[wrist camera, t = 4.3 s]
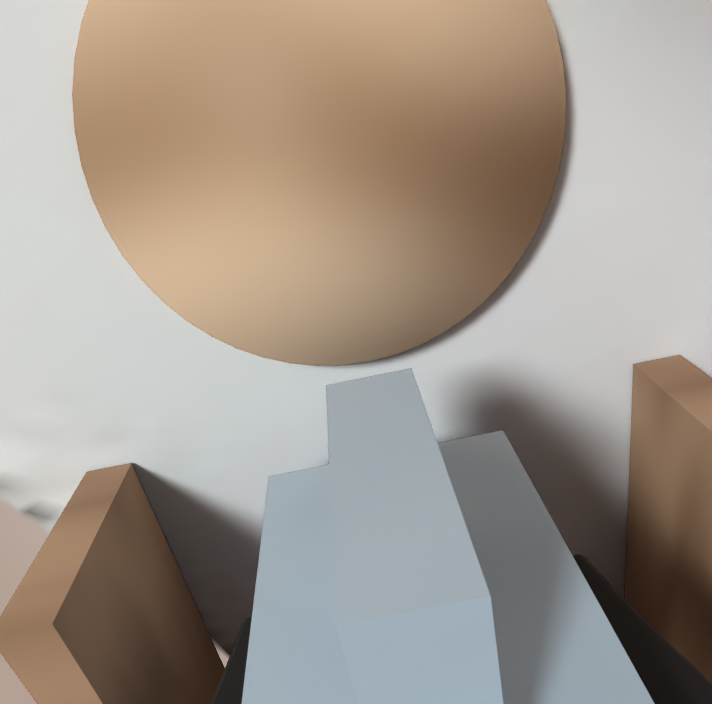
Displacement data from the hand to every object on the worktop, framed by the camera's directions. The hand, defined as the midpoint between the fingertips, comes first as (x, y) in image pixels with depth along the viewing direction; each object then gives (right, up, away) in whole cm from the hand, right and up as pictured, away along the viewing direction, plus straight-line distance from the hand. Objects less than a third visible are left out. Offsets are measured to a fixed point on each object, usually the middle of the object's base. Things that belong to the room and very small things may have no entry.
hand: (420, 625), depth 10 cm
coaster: (-2, +8, 0) cm, 9 cm away
